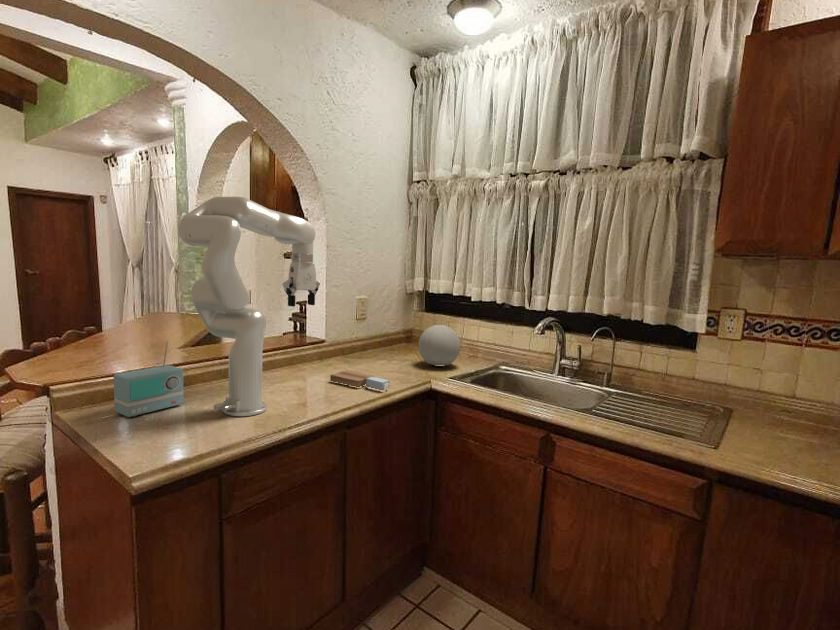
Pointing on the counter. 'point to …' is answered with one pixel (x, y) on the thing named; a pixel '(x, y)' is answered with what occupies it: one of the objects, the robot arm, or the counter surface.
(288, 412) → the counter surface
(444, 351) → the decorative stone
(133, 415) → the radio
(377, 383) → the block
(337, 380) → the brown box
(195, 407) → the counter surface
